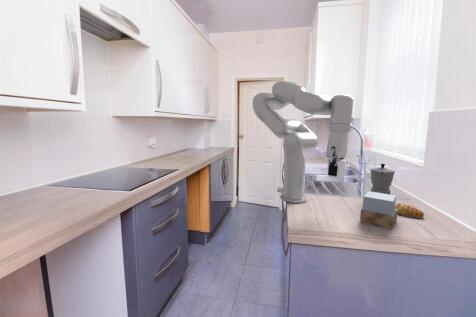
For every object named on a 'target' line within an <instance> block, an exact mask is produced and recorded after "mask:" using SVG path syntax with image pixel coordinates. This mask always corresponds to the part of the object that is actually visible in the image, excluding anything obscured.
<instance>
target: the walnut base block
mask: <svg viewBox="0 0 476 317" xmlns="http://www.w3.org/2000/svg"><path fill="white" fill-rule="evenodd" d="M397 211H398V209H396V208H395V210H394V212H393V214H392V216H390V215H385V214H380V213H376V212H371V211H366V210H362V208H360V216H359V223H363V224H366V225H369V226H370V225H371V226H375V227H379V228H382V229H387V230H391V231H393V229H394V226H395V224H396V223H397V220H398V214H397Z"/></svg>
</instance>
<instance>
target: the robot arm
mask: <svg viewBox="0 0 476 317" xmlns="http://www.w3.org/2000/svg"><path fill="white" fill-rule="evenodd" d="M251 103H252V110H253V112H254V114H255V116H256V117H257V118H258V120H259V121H261V122H262V123H263V124H264V125H265V126H266V127H267V128H268V129H269V131H271V133H273V135H274V136H275V137H276V138H278V139H283V140H282V147H283V148H282V149H283V153H284V154H283V156H284V159H283V160H284V163H283V164H284V168H283V169H284V170H283V171H284V172H283V188H282V187H277V189H276V192H277V193H280V195H279V198H280V200H282V201H283V202H287V203H293V204H302V203H305V202H307V201H308V197H307V196H306V195H305V181H306V180H305V178H306V158H305V155H304V153H308V152H312V151H315V149H317V147H318V142H319V141H318V138H317V136H316V134H315V133H314V132H313V131H312V130H311V129H310V128H308V127H307V125H305V124H304V123H303V122H301V121H300V120H297V119H293V118H292V119H291V118H290V119H289V118H285V117H283V116H281V115H280V114H279V112H277V111H279V110H281V109H284V108H285V107H287V106H288V105H289V104H291V105H293V106H294V108H296V109H298V110H300V111H302V112H303V113H306V114H310V115H312V116H313V115H314V116H329V127H328V129H329V130H328V132H329V134H328V140H327V144H326V154H325V156H326V157H327V159H329V169H328V168H327V176H328V175H330V176H337V169H338V166H337V162H338V159H345V158H346V156H347V154H348V153H347V152H348V142H349V139H348V138H349V134H350V133H351V130H352V129H351V128H352V116H353V109H354V97H353V96H352V95H349V94H337V95H334V96H329V95H321V94H315V93H312V92H307V91H306V88H304V86H301V85H299V84H298V83H296V82H293V81H286V80H278V81H276V82H274V83H273V85H272V87H271V92H259V93H257V94H255V95H254V96H253V98H252V102H251Z"/></svg>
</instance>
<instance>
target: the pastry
mask: <svg viewBox="0 0 476 317" xmlns="http://www.w3.org/2000/svg"><path fill="white" fill-rule="evenodd" d="M395 208H396V209H398V211H397V215H401V216H404V217H408V218H414V219H423V218H424V215H425V213H424V212H423V211H421V210H419V209H417V208H416V207H413V206H411V205H408V204H404V203H399V202H398V203H396V204H395Z"/></svg>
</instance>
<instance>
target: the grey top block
mask: <svg viewBox="0 0 476 317" xmlns="http://www.w3.org/2000/svg"><path fill="white" fill-rule="evenodd" d="M370 191H371V190H370ZM370 191H367V192H366V194H364V195H363V197H362V199H363V200H362V208H361V209H362V210H366V211H371V212H376V213H380V214H385V215H390V216H392V214H393V212H394V210H395V206H396V204H397V203H396V202H397V195H395V194H391V195H389V194H383V193H377V192H370Z"/></svg>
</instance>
